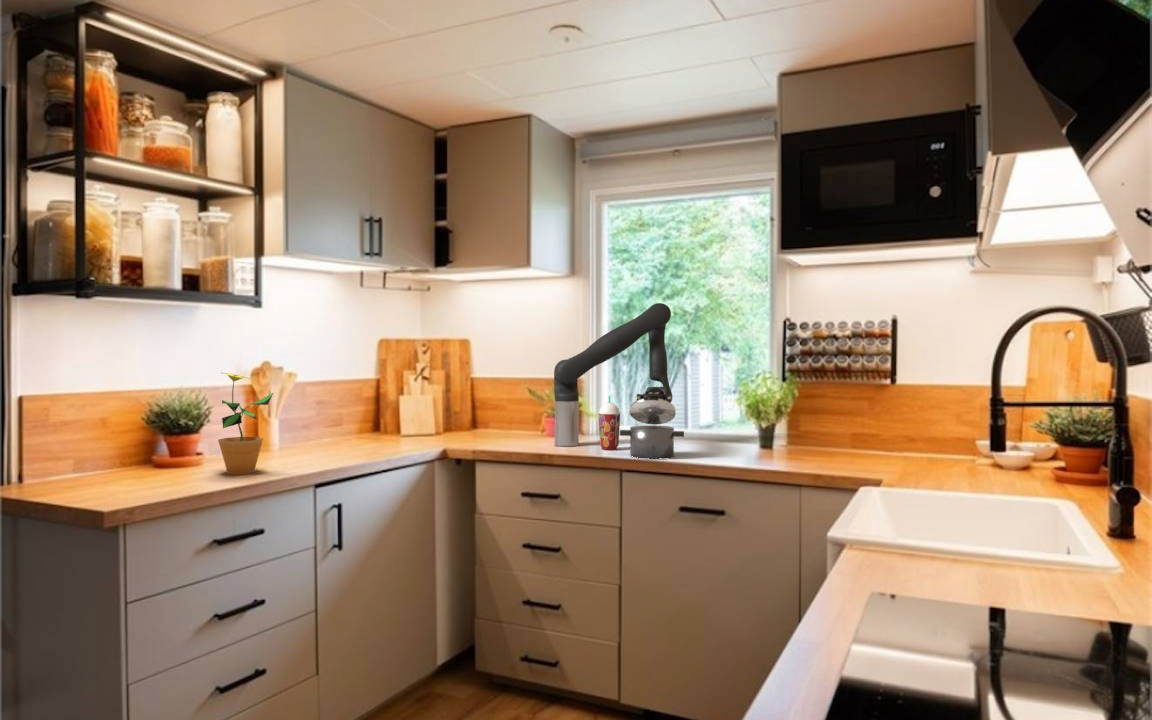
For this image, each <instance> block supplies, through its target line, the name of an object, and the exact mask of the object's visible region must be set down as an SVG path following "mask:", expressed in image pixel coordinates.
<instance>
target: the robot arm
mask: <svg viewBox="0 0 1152 720" xmlns="http://www.w3.org/2000/svg"><path fill="white" fill-rule="evenodd" d="M671 317H672V311H671V308H670V307H669V306H668V304H665V303H661V302H657V303H653V304H652V305H650V306H649V308H647V309H645V311H643V312H642V313H641V314H639V315H638V316H637V317H635V318H633V319H631V320H629V321H627V322H625V323H622V324H621V325H619V326H617V327H616V328H614V329H612V330H610V331H609V332H607V333H605V334H603V335H602V336H600V337H599V338H597V339H596V340H595V341H594V342H593V343H591V344H590V345H589V346H588V347H587V348H586V349H585V350H583V351H582V352H580V353H578V354H575V355H573V356H571V357H569V358H568V359H562V360H559V361H558V362H557V363H556V364H555V366H554V370H553V371H554V372H553V386H554V387H553V388H554V389H553V390H554V393H553V394H554V447H556V446H557V447H578V446H579V439H580V438H579V435H580V434H579V431H580V430H579V429H580V428H579V427H580V426H579V425H580V424H579V423H580V421H579V420H580V419H579V418H580V417H579V415H580V414H579V410H580V409H579V403H580V401H579V400H580V394H579V389H578V387H579V386H578V379H580V378H581V377H582V376H584V375H585V374H586V373H588V371H591V369H593V368H594V367H596V366H599V365H600V364H603V363H605V362H607V361H609V360H610V359H612V358H614V357H616V356H618V355H619V354H620V353H622V352H624V351H625V350H627V349H628V348H630V347H631V346H632V345H633V344H635V343H636V342H637V341H638V340H640V339H641V338H643V336H645V335H647V334H648V343H649V345H648V346H649V355H648V356H649V357H648V359H649V360H648V361H649V363H648V364H649V365H648V366H649V367H648V369H649V370H648V373H649V379H650V380H651V381H654V382H658V383H661V384H662V386H649V387H647V388H646V389H645V392H644V393H637V394H636V401H637V400H639V399H643V394H658V397H659V399H663V400H666V401H668V402H670V403H671V404H672V401H673V392H672V389H671V385H670V382H669V377H668V375H669V374H668V356H667V350H666V342H665V338H666V336H665V333H666V327H667V324H668V323H669V322H670V321H671Z"/></svg>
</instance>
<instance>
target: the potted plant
mask: <svg viewBox="0 0 1152 720" xmlns="http://www.w3.org/2000/svg"><path fill="white" fill-rule="evenodd" d="M221 374H223V375H227V377H228V378H229V379H230V380H232V382H233V383H232V390H231V399H232V401H231V402H230V401H227V400H224V399H222V400H221V404H225V405H227V406H228V407H229V408H230V410H231V411H232V412H233V414H231V415H227V416H224V417H222V418H221V419H222V429H225V428H228V427H232V426H236V425H238V429H239V434H240V436H234V437H233V436H232V437H224V438H218V439H217V441H218V445H219V448H220V452H221V454H222V459H223V461H224V466H225V469H226V473H227V474H228V475H247V474H249V475H250V474H253V473H255V470H256V467H257V462H258V460H259V455H260V452H261V448H262V444H263V441H264V437H259V436H244V435H243V431H242V428H241V424H242V423H243V421H242V419H243V416H244V415H246V416H248V417H250V418H252V419H255V420H256V421H258V418H257V416H256V415H255V414H254V413H252V412H250V411H248V410H247V409H248V408H249V407H250V406H251V405H259V406H262V405H263V406H268V405H269V403H270V401H271V400H272V397H273V395H274V392H272V393H270V394H268V395H266V396H265V397H263V398H261V399H259V400H257V401H254V402H251V403H250V404H249V405H247V406H246V407H245V408H242V407H241V403H239V402H238V403H237V402H234V387H235V382H236V381H239V380H242V379H245V380H246V379H248V380H250V378H249V377H245V376H243V375H238V374H233V373H227V372H221ZM238 407H239V409H240V412H236V411H237V410H238ZM243 414H244V415H243Z"/></svg>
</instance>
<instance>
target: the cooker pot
mask: <svg viewBox="0 0 1152 720" xmlns="http://www.w3.org/2000/svg"><path fill="white" fill-rule="evenodd" d="M619 436H627V437H629V436H630V438H629V440H630V442H629V444H630V446H629V447H630V448H629V449H630V452H629V453H630V455H631V456H633V457H638V458H637V459H639V458H649V459H648V460H660V459H659V458H669V459H672V458H671V457H673V456H674V455H675V453H674V452H675V447H674V446H675V444H674V443H675V441H674V439H675V438H674V437H678V438H681V437H682V438H684V437H685V431H684V430H675V429H674V427H673V426H670V425H669V426H667V425H635V426H630V428H629V429H621V430H620V429H619ZM631 456H630V457H631ZM633 457H632V458H633ZM673 458H674V457H673Z"/></svg>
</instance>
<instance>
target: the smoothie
mask: <svg viewBox="0 0 1152 720" xmlns="http://www.w3.org/2000/svg"><path fill="white" fill-rule="evenodd" d="M597 413H598V414H597V416H598V431H599V446H600V448H601V450H602V449H603V451H617V450H618V447H619V443H620V441H619V440H620V425H621V414H622V413H621V412H620V409H619V407H618V406H617V405H616V404H614V403H613V402H611V395H608V403H604V404H603V405H602V406H601V407H600V408H599V411H598V412H597Z"/></svg>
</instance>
